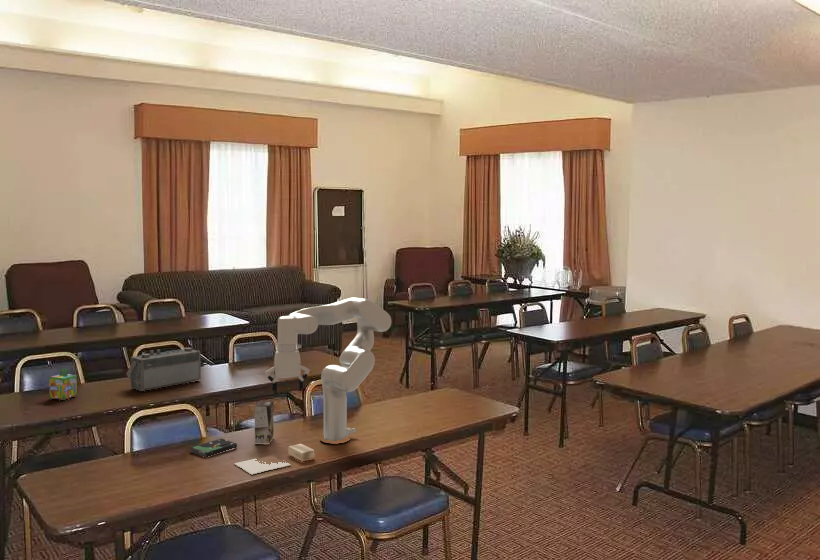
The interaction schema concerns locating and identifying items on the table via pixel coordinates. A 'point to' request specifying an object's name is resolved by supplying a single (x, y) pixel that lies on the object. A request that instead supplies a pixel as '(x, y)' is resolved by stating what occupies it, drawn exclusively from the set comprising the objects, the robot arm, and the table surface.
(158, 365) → the radio
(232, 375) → the table surface
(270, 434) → the coffee box
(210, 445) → the disk drive
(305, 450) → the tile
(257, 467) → the mat
